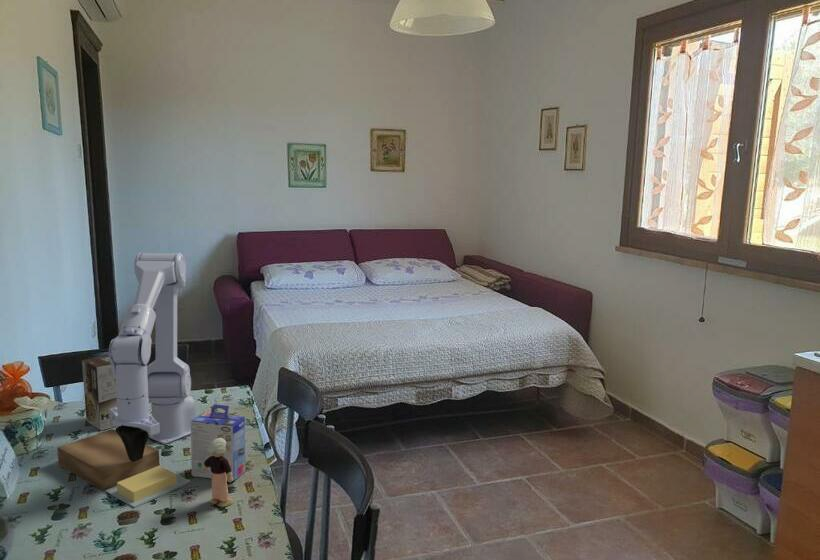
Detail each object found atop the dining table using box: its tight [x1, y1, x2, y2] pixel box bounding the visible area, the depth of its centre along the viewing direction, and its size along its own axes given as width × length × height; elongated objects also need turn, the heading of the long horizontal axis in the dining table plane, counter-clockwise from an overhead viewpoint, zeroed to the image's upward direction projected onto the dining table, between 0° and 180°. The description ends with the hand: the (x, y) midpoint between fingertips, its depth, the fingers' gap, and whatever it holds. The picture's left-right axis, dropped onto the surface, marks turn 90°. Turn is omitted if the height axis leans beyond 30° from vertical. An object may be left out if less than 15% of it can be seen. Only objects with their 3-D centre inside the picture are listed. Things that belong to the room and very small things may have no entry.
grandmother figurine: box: [203, 438, 234, 508], centre depth 113 cm, size 8×4×13 cm, turn 71°
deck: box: [56, 428, 161, 492], centre depth 127 cm, size 12×18×4 cm, turn 56°
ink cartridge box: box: [190, 403, 247, 482], centre depth 124 cm, size 10×6×14 cm, turn 78°
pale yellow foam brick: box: [117, 465, 178, 502], centre depth 118 cm, size 9×6×2 cm, turn 145°
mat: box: [105, 474, 191, 509], centre depth 119 cm, size 12×10×1 cm
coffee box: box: [81, 354, 117, 431], centre depth 148 cm, size 9×6×16 cm
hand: (136, 459), depth 120 cm, fingers closed
